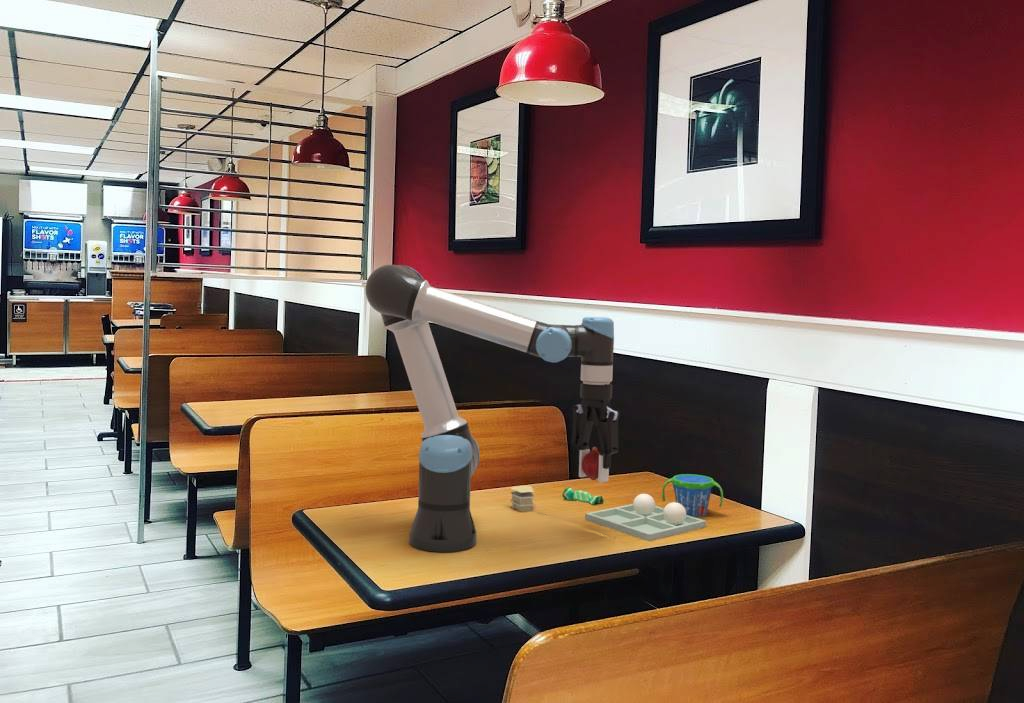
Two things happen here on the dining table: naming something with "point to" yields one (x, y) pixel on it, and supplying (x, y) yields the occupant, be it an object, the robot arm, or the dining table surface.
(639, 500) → the egg far left
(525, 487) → the layered cracker stack
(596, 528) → the dining table surface
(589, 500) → the candy
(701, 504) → the snack cup
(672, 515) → the egg far right
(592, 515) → the egg tray
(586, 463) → the onion
